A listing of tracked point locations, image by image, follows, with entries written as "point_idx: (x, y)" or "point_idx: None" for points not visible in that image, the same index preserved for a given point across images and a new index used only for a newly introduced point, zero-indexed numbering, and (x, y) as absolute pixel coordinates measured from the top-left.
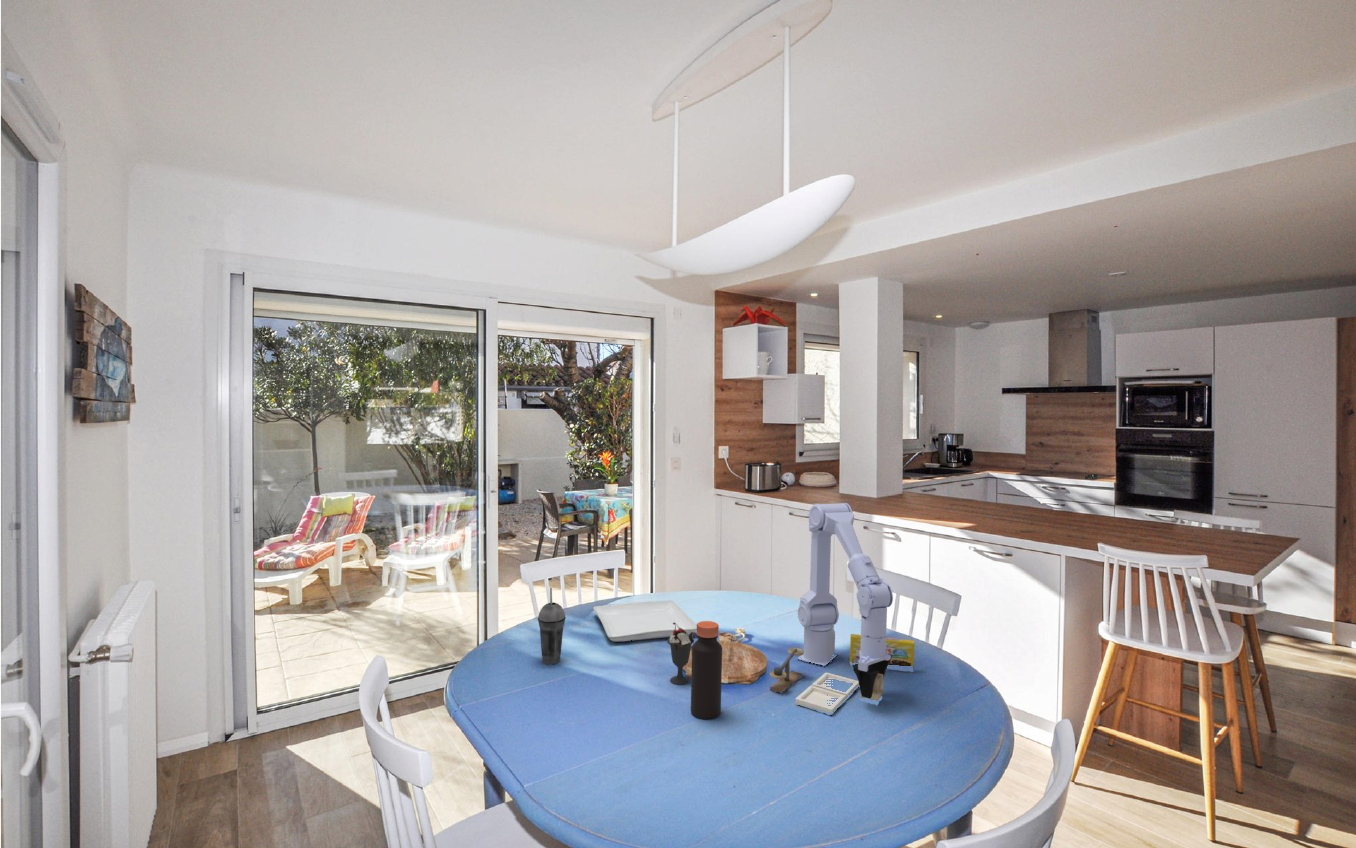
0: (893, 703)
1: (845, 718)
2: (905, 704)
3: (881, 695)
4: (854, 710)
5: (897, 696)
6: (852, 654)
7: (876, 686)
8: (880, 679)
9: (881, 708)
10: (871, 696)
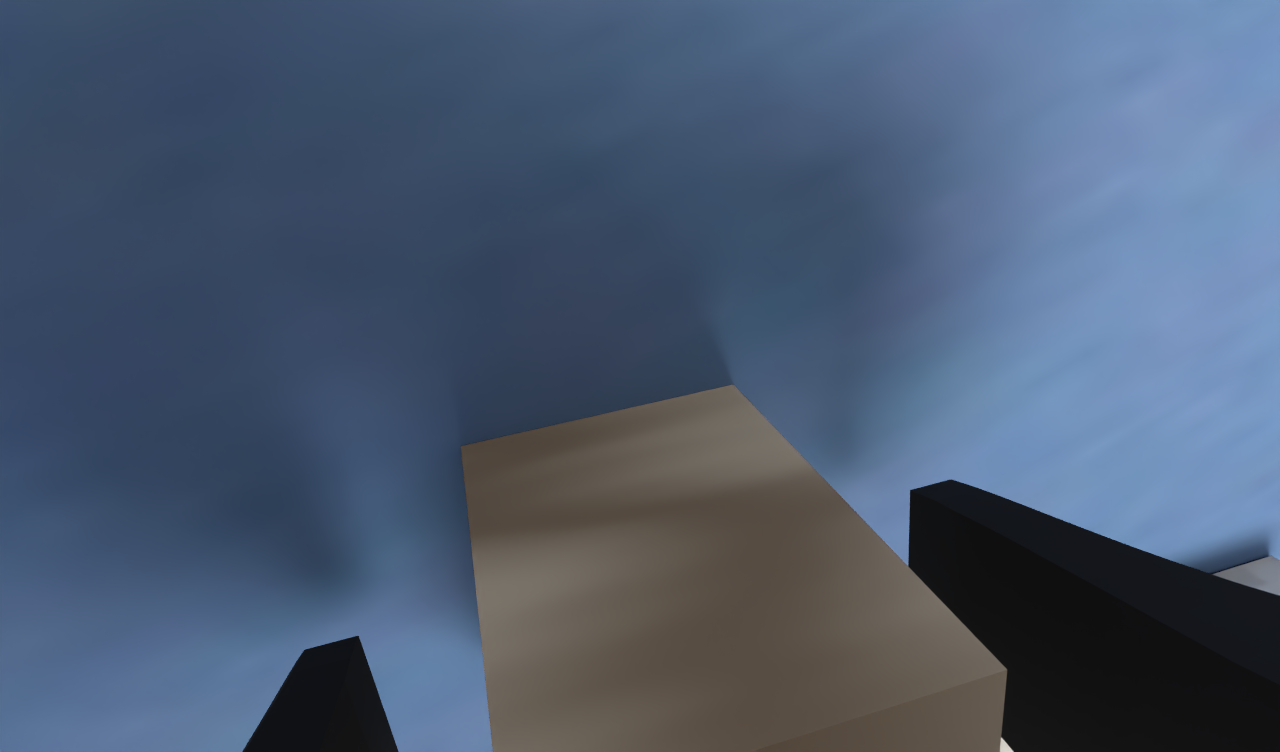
0: (449, 249)
1: (1253, 447)
2: (288, 54)
3: (540, 476)
4: (1032, 495)
5: (85, 341)
6: None
7: (907, 584)
8: (760, 700)
9: (770, 297)
10: (933, 495)
